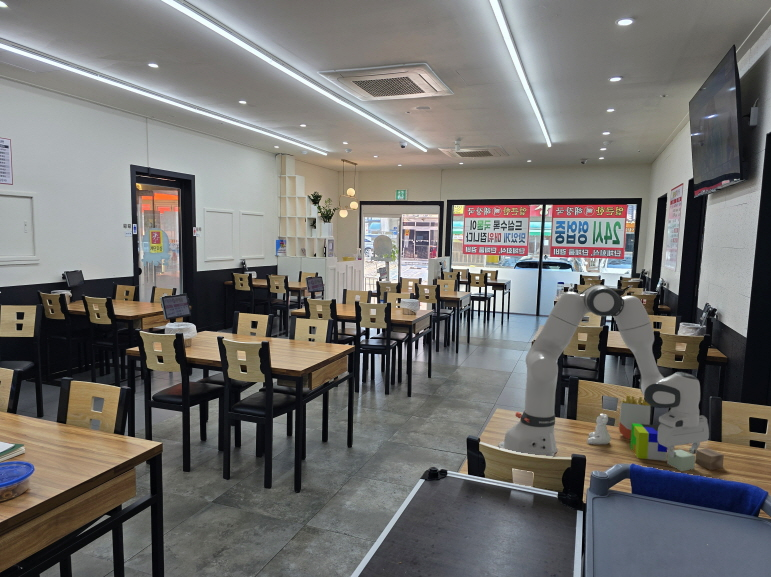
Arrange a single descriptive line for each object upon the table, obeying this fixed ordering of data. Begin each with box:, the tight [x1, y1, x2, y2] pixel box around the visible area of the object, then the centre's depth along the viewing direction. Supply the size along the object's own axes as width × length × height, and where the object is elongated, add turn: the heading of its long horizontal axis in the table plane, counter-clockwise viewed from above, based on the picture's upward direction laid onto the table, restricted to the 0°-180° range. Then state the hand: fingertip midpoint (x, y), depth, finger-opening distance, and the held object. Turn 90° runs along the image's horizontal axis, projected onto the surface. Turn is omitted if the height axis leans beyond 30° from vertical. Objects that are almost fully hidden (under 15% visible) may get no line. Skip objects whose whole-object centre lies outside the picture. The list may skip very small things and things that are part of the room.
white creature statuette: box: [586, 413, 612, 445], centre depth 204 cm, size 10×9×12 cm
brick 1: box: [666, 449, 696, 472], centre depth 182 cm, size 6×6×5 cm
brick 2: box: [695, 448, 725, 471], centre depth 184 cm, size 6×6×5 cm
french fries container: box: [618, 394, 652, 440], centre depth 209 cm, size 5×11×18 cm, turn 68°
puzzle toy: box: [630, 423, 668, 461], centre depth 193 cm, size 10×10×10 cm
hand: (682, 455), depth 182 cm, fingers open, 8 cm apart
